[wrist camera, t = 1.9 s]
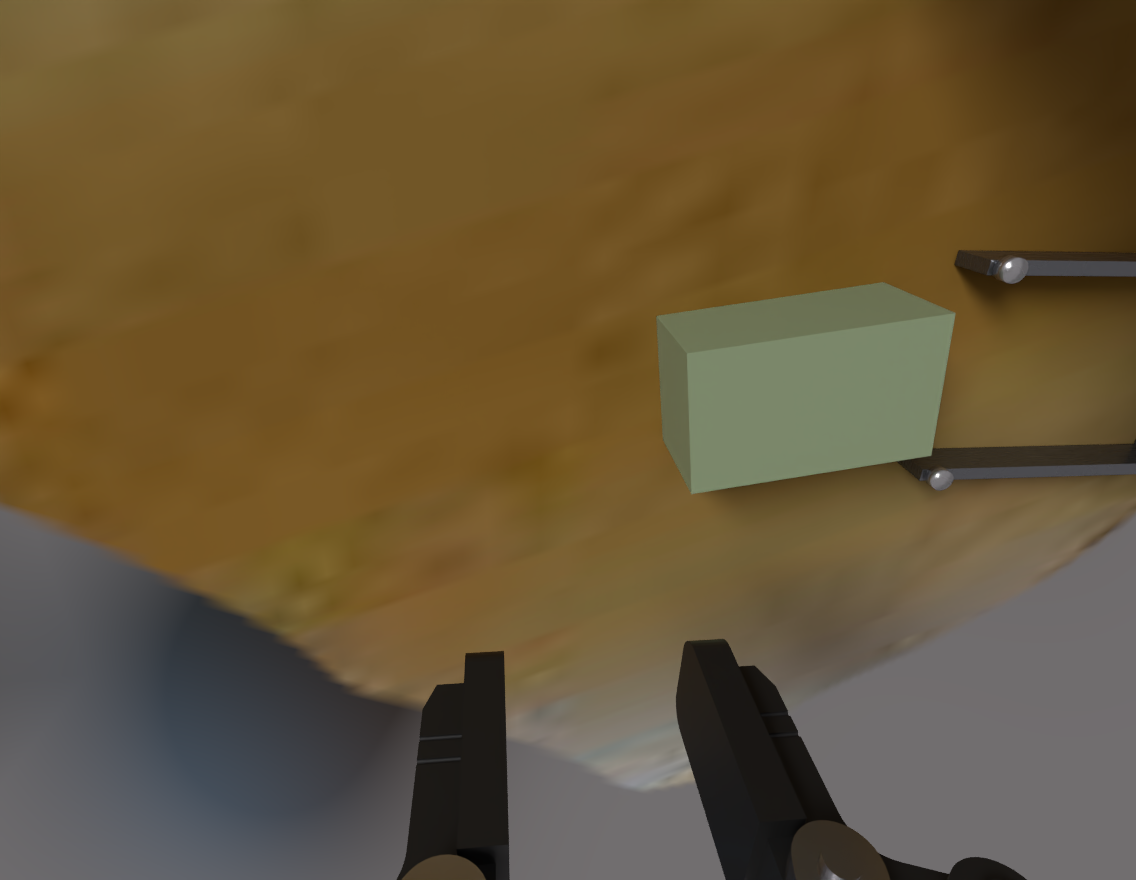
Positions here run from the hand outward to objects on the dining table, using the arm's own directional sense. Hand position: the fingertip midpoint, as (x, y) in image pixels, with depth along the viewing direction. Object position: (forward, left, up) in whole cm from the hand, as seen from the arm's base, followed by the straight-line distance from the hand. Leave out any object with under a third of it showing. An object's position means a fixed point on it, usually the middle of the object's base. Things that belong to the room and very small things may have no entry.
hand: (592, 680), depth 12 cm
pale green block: (0, +11, -17) cm, 20 cm away
